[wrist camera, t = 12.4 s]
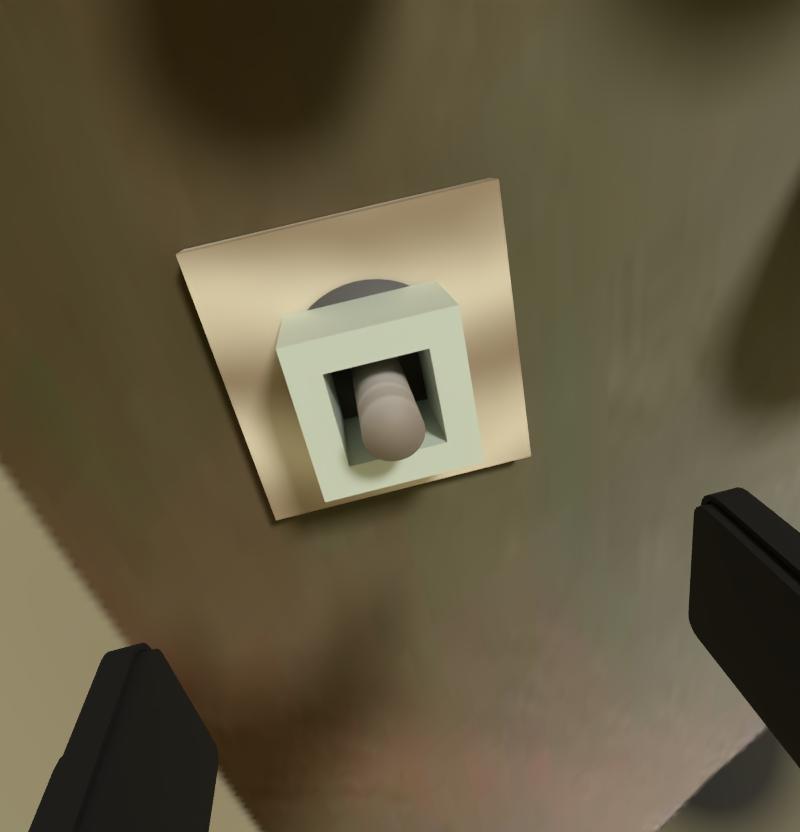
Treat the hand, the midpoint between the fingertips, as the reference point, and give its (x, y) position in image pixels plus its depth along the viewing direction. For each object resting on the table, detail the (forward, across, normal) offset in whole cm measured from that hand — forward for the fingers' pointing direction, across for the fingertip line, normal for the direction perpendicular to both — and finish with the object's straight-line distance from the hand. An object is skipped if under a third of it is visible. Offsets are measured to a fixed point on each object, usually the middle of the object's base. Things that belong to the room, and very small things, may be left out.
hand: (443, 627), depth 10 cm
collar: (+14, 0, +1) cm, 14 cm away
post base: (+16, 0, +1) cm, 16 cm away
